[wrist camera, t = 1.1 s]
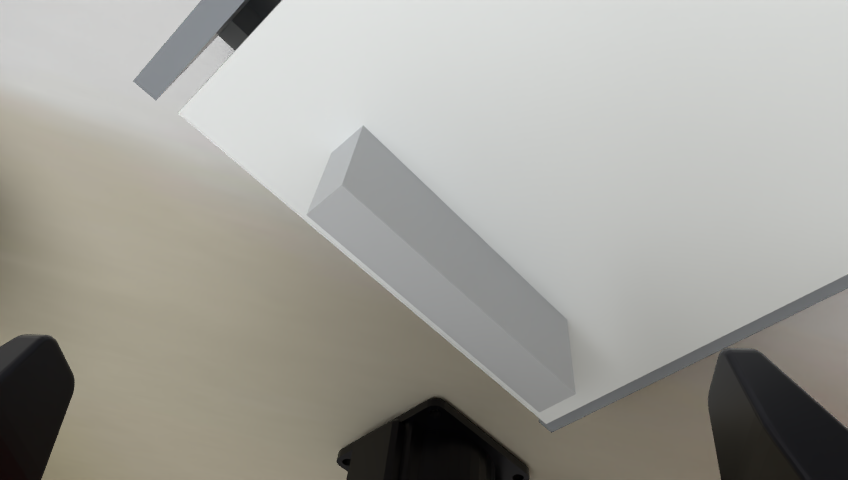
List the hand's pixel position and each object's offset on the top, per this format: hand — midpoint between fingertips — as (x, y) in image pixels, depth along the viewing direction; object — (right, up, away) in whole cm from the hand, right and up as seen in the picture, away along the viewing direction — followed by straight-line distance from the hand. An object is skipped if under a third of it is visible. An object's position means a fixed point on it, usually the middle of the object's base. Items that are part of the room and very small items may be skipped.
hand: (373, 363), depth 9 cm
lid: (+4, +4, +5) cm, 8 cm away
